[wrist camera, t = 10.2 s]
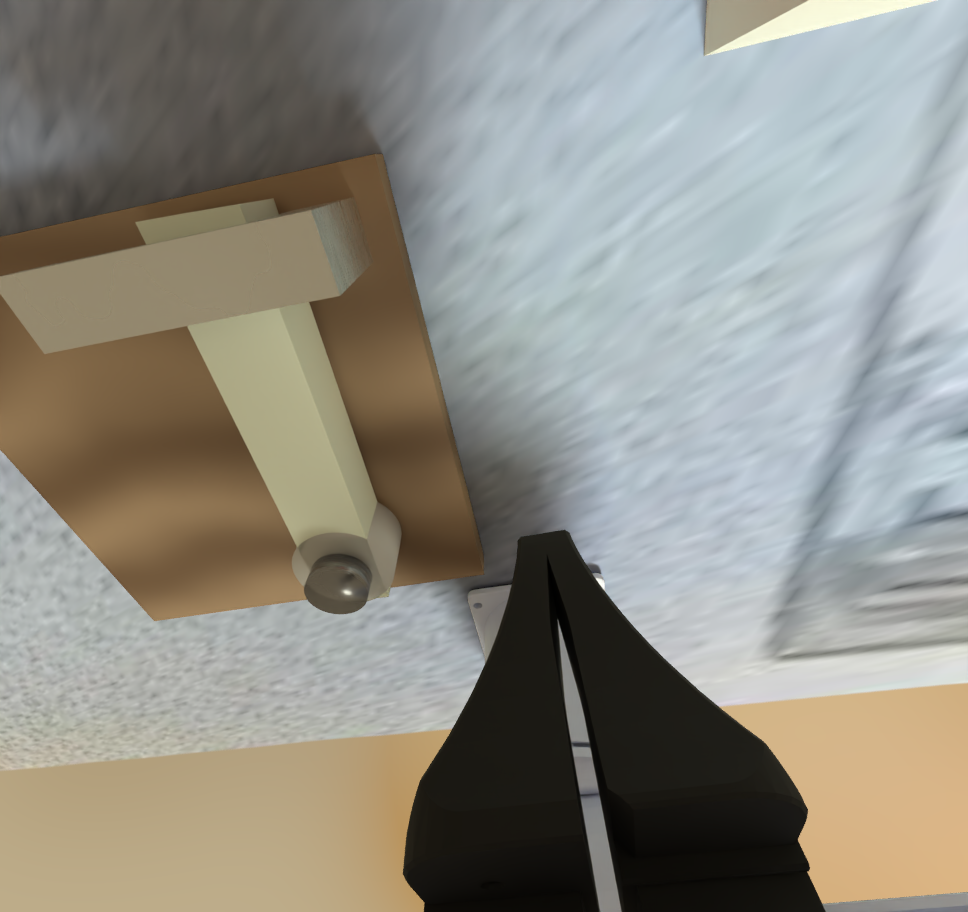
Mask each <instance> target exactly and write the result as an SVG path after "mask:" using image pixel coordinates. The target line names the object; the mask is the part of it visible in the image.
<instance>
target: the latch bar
mask: <svg viewBox="0 0 968 912" xmlns="http://www.w3.org/2000/svg"><path fill="white" fill-rule="evenodd" d="M278 214H279V213H278V210H277V207H276V204H275V201H274V198H272V199H266V200H260V201H254V202H248V203H242V204H236V205H230V206H224V207H218V208H212V209H206V210H200V211H195V212H189V213H183V214H177V215H172V216H166V217H161V218H155V219H150V220H144V221H139V222H135V223H136V225H137V227H138V229H139V231H140V233H141V235H142V237H143V239H144V241H145V243H146V244H151V243H155V242H160V241H165V240H169V239H174V238H179V237H183V236H188V235H193V234H197V233H202V232H207V231H211V230H216V229H221V228H225V227H230V226H235V225H239V224H244V223H249V222H252V221H256V220H260V219H263V218H267V217H271V216H274V215H278ZM187 327H188V329H189V331H190V333H191V335H192V337H193V339H194V341H195V343H196V345H197V347H198V349H199V351H200V353H201V355H202V357H203V359H204V361H205V363H206V365H207V367H208V369H209V371H210V373H211V375H212V377H213V379H214V381H215V383H216V385H217V387H218V389H219V391H220V393H221V395H222V397H223V399H224V402H225V404H226V406H227V408H228V410H229V412H230V414H231V416H232V418H233V420H234V422H235V424H236V426H237V428H238V430H239V432H240V434H241V436H242V438H243V440H244V442H245V444H246V446H247V448H248V450H249V452H250V454H251V456H252V458H253V460H254V462H255V464H256V466H257V468H258V470H259V472H260V474H261V476H262V478H263V480H264V482H265V484H266V486H267V488H268V490H269V492H270V494H271V496H272V498H273V500H274V502H275V504H276V506H277V508H278V510H279V512H280V514H281V516H282V518H283V520H284V522H285V524H286V526H287V528H288V530H289V532H290V534H291V536H292V538H293V540H294V542H295V544H296V546H297V547H296V550H295V552H294V554H293V557H292V568H293V572H294V574H295V576H296V578H297V579H298V581H299V582H300V583H301V584H302V585H303V586H305V583H306V580H307V578H308V575H309V573H310V570H311V568H312V566H313V564H314V562H315V561H316V560H317V559H319V558H320V557H323V556H325V555H329V554H346V555H350V556H353V557H356V558H358V559H360V560H361V561H363V562H364V563H365V564H366V565H367V566H368V567H369V569H370V570H371V573H372V583H371V587H370V591H369V595H368V599H367V601H370V600H373V599H375V598H381V597H389V592H390V587H391V584H392V582H393V579H394V574H395V569H396V563H397V558H398V553H399V548H400V543H401V536H402V531H401V526H400V524H399V521H398V520H397V518H396V516H395V515H394V514H393V513H392V512H391V511H390V510H389V509H388V508H387V507H385V506H384V505H382V504H381V503H379V502H377V499H376V496H375V493H374V490H373V488H372V485H371V482H370V479H369V476H368V473H367V470H366V467H365V464H364V461H363V458H362V455H361V452H360V450H359V447H358V444H357V441H356V438H355V435H354V432H353V429H352V426H351V423H350V420H349V417H348V415H347V412H346V409H345V406H344V403H343V400H342V397H341V394H340V391H339V388H338V385H337V382H336V379H335V377H334V374H333V371H332V368H331V365H330V362H329V359H328V356H327V353H326V350H325V347H324V344H323V341H322V339H321V336H320V333H319V330H318V327H317V324H316V321H315V318H314V315H313V312H312V309H311V306H310V304H309V302H306V303H301V304H296V305H291V306H286V307H281V308H276V309H271V310H266V311H261V312H255V313H250V314H245V315H240V316H235V317H230V318H225V319H220V320H215V321H210V322H205V323H200V324H194V325H189V326H187Z"/></svg>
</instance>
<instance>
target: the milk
mask: <svg viewBox="0 0 968 912" xmlns="http://www.w3.org/2000/svg"><path fill="white" fill-rule="evenodd" d="M932 1H936V0H707V10H706V29H705V48H704V56H707V55H711V54H715V53H720V52H724V51H728V50H732V49H736V48H740V47H745V46H749V45H753V44H757V43H761V42H765V41H770V40H774V39H778V38H782V37H786V36H790V35H795V34H799V33H803V32H807V31H811V30H815V29H820V28H824V27H828V26H832V25H836V24H840V23H845V22H849V21H853V20H857V19H861V18H866V17H870V16H874V15H878V14H882V13H886V12H891V11H895V10H899V9H903V8H907V7H911V6H916V5H920V4H924V3H928V2H932Z"/></svg>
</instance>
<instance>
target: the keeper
mask: <svg viewBox="0 0 968 912" xmlns="http://www.w3.org/2000/svg"><path fill="white" fill-rule="evenodd" d="M372 263H373V259H372V256H371V252H370V249H369V245H368V242H367V239H366V235H365V232H364V228H363V225H362V222H361V218H360V215H359V211H358V208H357V205H356V201H355V198H354V197H352V198H347V199H343V200H338V201H333V202H329V203H324V204H319V205H315V206H310V207H305V208H301V209H296V210H292V211H289V212H285V213H281V214H278V215H274V216H271V217H267V218H263V219H260V220H256V221H252V222H249V223H244V224H239V225H235V226H230V227H225V228H221V229H216V230H211V231H207V232H202V233H197V234H193V235H188V236H183V237H179V238H174V239H169V240H165V241H160V242H155V243H151V244H146V245H141V246H137V247H132V248H127V249H123V250H118V251H113V252H109V253H104V254H99V255H95V256H90V257H85V258H81V259H76V260H71V261H67V262H62V263H57V264H53V265H48V266H43V267H39V268H34V269H29V270H25V271H20V272H16V273H12V274H8V275H4V276H0V294H1V296H2V297H3V298H4V300H5V301H6V302H7V304H8V305H9V307H10V308H11V309H12V311H13V312H14V313H15V315H16V316H17V317H18V319H19V320H20V321H21V323H22V324H23V326H24V327H25V328H26V330H27V331H28V332H29V334H30V335H31V336H32V338H33V339H34V341H35V342H36V343H37V345H38V346H39V347H40V349H41V350H42V351H43V353H44V354H47V353H52V352H57V351H62V350H68V349H73V348H78V347H83V346H88V345H93V344H98V343H103V342H108V341H113V340H118V339H123V338H128V337H134V336H139V335H144V334H149V333H154V332H159V331H164V330H169V329H174V328H179V327H184V326H189V325H194V324H200V323H205V322H210V321H215V320H220V319H225V318H230V317H235V316H240V315H245V314H250V313H255V312H261V311H266V310H271V309H276V308H281V307H286V306H291V305H296V304H301V303H306V302H311V301H316V300H321V299H327V298H332V297H337V296H340V295H341V294H342V293H343V292H344V291H345V290H346V289H347V288H348V287H349V286H350V285H351V284H352V283H353V282H354V281H355V280H356V279H357V278H358V277H359V276H360V275H361V274H362V273H363V272H364V271H365V270H366V269H367V268H368V267H369V266H370V265H371V264H372Z"/></svg>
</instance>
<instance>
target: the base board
mask: <svg viewBox="0 0 968 912" xmlns="http://www.w3.org/2000/svg"><path fill="white" fill-rule="evenodd" d="M352 197H354V198H355V201H356V205H357V208H358V211H359V215H360V218H361V222H362V225H363V228H364V232H365V235H366V239H367V242H368V245H369V249H370V252H371V256H372V259H373V263H372V264H371V265H370V266H369V267H368V268H367V269H366V270H365V271H364V272H363V273H362V274H361V275H360V276H359V277H358V278H357V279H356V280H355V281H354V282H353V283H352V284H351V285H350V286H349V287H348V288H347V289H346V290H345V291H344V292H343V293H342V294H341V295H340V296H337V297H332V298H327V299H321V300H316V301H311V302H309V304H310V306H311V309H312V312H313V315H314V318H315V321H316V324H317V327H318V330H319V333H320V336H321V339H322V341H323V344H324V347H325V350H326V353H327V356H328V359H329V362H330V365H331V368H332V371H333V374H334V377H335V379H336V382H337V385H338V388H339V391H340V394H341V397H342V400H343V403H344V406H345V409H346V412H347V415H348V417H349V420H350V423H351V426H352V429H353V432H354V435H355V438H356V441H357V444H358V447H359V450H360V452H361V455H362V458H363V461H364V464H365V467H366V470H367V473H368V476H369V479H370V482H371V485H372V488H373V490H374V493H375V496H376V499H377V502H379V503H381V504H382V505H384V506H385V507H387V508H388V509H389V510H390V511H391V512H392V513H393V514H394V515H395V516H396V518H397V520H398V521H399V524H400V526H401V531H402V536H401V543H400V548H399V553H398V558H397V563H396V569H395V574H394V579H393V582H392V584H391V587H390V588H392V587H399V586H406V585H413V584H420V583H427V582H434V581H441V580H448V579H455V578H462V577H469V576H476V575H483V574H484V554H483V550H482V546H481V542H480V538H479V534H478V530H477V526H476V522H475V518H474V514H473V510H472V506H471V502H470V498H469V494H468V490H467V486H466V482H465V478H464V474H463V470H462V466H461V463H460V459H459V455H458V451H457V447H456V443H455V439H454V435H453V431H452V427H451V423H450V419H449V415H448V411H447V407H446V403H445V399H444V395H443V391H442V387H441V383H440V379H439V375H438V371H437V367H436V363H435V360H434V356H433V352H432V348H431V344H430V340H429V336H428V332H427V328H426V324H425V320H424V316H423V312H422V308H421V304H420V300H419V296H418V292H417V288H416V284H415V280H414V276H413V272H412V268H411V264H410V261H409V257H408V253H407V249H406V245H405V241H404V237H403V233H402V229H401V225H400V221H399V217H398V213H397V209H396V205H395V201H394V197H393V193H392V189H391V185H390V181H389V177H388V173H387V169H386V165H385V161H384V158H383V154H372V155H367V156H363V157H358V158H354V159H349V160H345V161H340V162H336V163H331V164H327V165H322V166H318V167H313V168H309V169H304V170H300V171H295V172H291V173H286V174H282V175H277V176H273V177H268V178H264V179H259V180H255V181H250V182H246V183H241V184H237V185H232V186H228V187H223V188H219V189H214V190H210V191H205V192H201V193H196V194H191V195H187V196H182V197H178V198H173V199H169V200H164V201H160V202H155V203H151V204H146V205H142V206H137V207H133V208H128V209H124V210H119V211H115V212H110V213H106V214H101V215H97V216H92V217H88V218H83V219H79V220H74V221H70V222H65V223H61V224H56V225H52V226H47V227H43V228H38V229H34V230H29V231H25V232H20V233H16V234H11V235H7V236H2V237H0V276H4V275H8V274H12V273H16V272H20V271H25V270H29V269H34V268H39V267H43V266H48V265H53V264H57V263H62V262H67V261H71V260H76V259H81V258H85V257H90V256H95V255H99V254H104V253H109V252H113V251H118V250H123V249H127V248H132V247H137V246H141V245H146V243H145V241H144V239H143V237H142V235H141V233H140V231H139V229H138V227H137V225H136V223H135V222H139V221H144V220H150V219H155V218H161V217H166V216H172V215H177V214H183V213H189V212H195V211H200V210H206V209H212V208H218V207H224V206H230V205H236V204H242V203H248V202H254V201H260V200H266V199H272V198H274V201H275V204H276V207H277V210H278V213H279V214H281V213H285V212H289V211H292V210H296V209H301V208H305V207H310V206H315V205H319V204H324V203H329V202H333V201H338V200H343V199H347V198H352ZM0 450H1V451H2V452H3V453H4V454H5V455H6V456H7V458H8V459H9V460H10V461H11V462H12V463H13V464H14V465H15V467H16V468H17V469H18V470H19V471H20V472H21V473H22V474H23V475H24V477H25V478H26V479H27V480H28V481H29V482H30V483H31V484H32V485H33V487H34V488H35V489H36V490H37V491H38V492H39V493H40V494H41V495H42V497H43V498H44V499H45V500H46V501H47V502H48V503H49V504H50V505H51V507H52V508H53V509H54V510H55V511H56V512H57V513H58V514H59V516H60V517H61V518H62V519H63V520H64V521H65V522H66V523H67V524H68V526H69V527H70V528H71V529H72V530H73V531H74V532H75V533H76V534H77V536H78V537H79V538H80V539H81V540H82V541H83V542H84V543H85V544H86V546H87V547H88V548H89V549H90V550H91V551H92V552H93V553H94V555H95V556H96V557H97V558H98V559H99V560H100V561H101V562H102V563H103V565H104V566H105V567H106V568H107V569H108V570H109V571H110V572H111V573H112V575H113V576H114V577H115V578H116V579H117V580H118V581H119V582H120V583H121V585H122V586H123V587H124V588H125V589H126V590H127V591H128V592H129V594H130V595H131V596H132V597H133V598H134V599H135V600H136V601H137V602H138V604H139V605H140V606H141V607H142V608H143V609H144V610H145V611H146V612H147V614H148V615H149V616H150V617H151V618H152V619H153V620H154V621H158V620H165V619H172V618H180V617H187V616H194V615H201V614H208V613H215V612H222V611H229V610H236V609H243V608H250V607H257V606H264V605H271V604H278V603H286V602H293V601H300V600H307V598H306V596H305V594H304V586H303V585H302V584H301V583H300V582H299V581H298V579H297V578H296V576H295V574H294V572H293V568H292V557H293V554H294V552H295V550H296V547H297V546H296V544H295V542H294V540H293V538H292V536H291V534H290V532H289V530H288V528H287V526H286V524H285V522H284V520H283V518H282V516H281V514H280V512H279V510H278V508H277V506H276V504H275V502H274V500H273V498H272V496H271V494H270V492H269V490H268V488H267V486H266V484H265V482H264V480H263V478H262V476H261V474H260V472H259V470H258V468H257V466H256V464H255V462H254V460H253V458H252V456H251V454H250V452H249V450H248V448H247V446H246V444H245V442H244V440H243V438H242V436H241V434H240V432H239V430H238V428H237V426H236V424H235V422H234V420H233V418H232V416H231V414H230V412H229V410H228V408H227V406H226V404H225V402H224V399H223V397H222V395H221V393H220V391H219V389H218V387H217V385H216V383H215V381H214V379H213V377H212V375H211V373H210V371H209V369H208V367H207V365H206V363H205V361H204V359H203V357H202V355H201V353H200V351H199V349H198V347H197V345H196V343H195V341H194V339H193V337H192V335H191V333H190V331H189V329H188V327H187V326H184V327H179V328H174V329H169V330H164V331H159V332H154V333H149V334H144V335H139V336H134V337H128V338H123V339H118V340H113V341H108V342H103V343H98V344H93V345H88V346H83V347H78V348H73V349H68V350H62V351H57V352H52V353H47V354H44V353H43V351H42V350H41V349H40V347H39V346H38V345H37V343H36V342H35V341H34V339H33V338H32V336H31V335H30V334H29V332H28V331H27V330H26V328H25V327H24V326H23V324H22V323H21V321H20V320H19V319H18V317H17V316H16V315H15V313H14V312H13V311H12V309H11V308H10V307H9V305H8V304H7V302H6V301H5V300H4V298H3V297H2V296H1V294H0Z"/></svg>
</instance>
